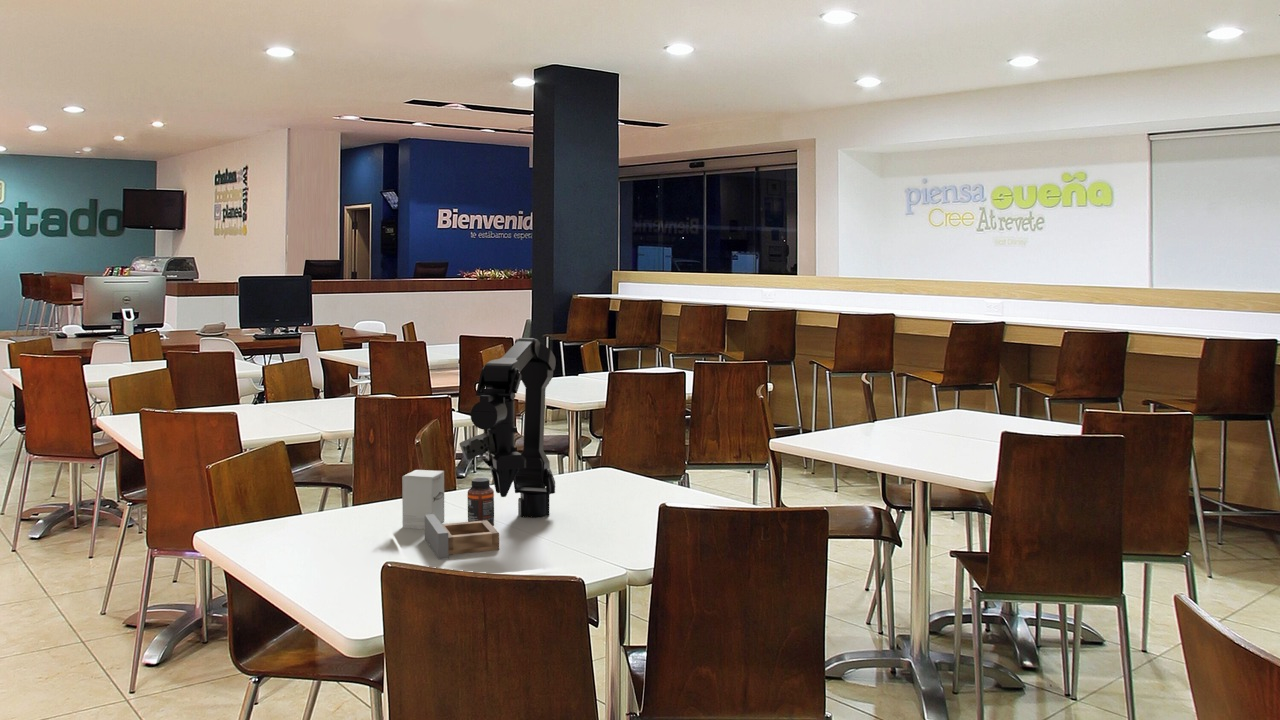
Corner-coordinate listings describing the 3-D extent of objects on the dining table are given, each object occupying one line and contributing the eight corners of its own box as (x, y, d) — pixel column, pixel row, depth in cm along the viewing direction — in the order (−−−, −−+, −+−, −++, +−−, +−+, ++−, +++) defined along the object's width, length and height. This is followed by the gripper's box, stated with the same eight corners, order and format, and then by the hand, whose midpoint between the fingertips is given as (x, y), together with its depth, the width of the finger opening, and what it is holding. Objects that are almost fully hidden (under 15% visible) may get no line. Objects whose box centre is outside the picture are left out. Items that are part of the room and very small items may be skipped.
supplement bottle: (499, 526, 229) (498, 477, 227) (486, 533, 223) (486, 483, 222) (475, 524, 230) (475, 475, 229) (462, 530, 225) (462, 480, 224)
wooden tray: (487, 535, 218) (487, 520, 217) (499, 549, 207) (499, 532, 207) (436, 540, 213) (436, 524, 213) (446, 554, 203) (445, 537, 203)
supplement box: (432, 533, 223) (432, 477, 221) (401, 530, 224) (400, 475, 223) (445, 524, 230) (445, 470, 229) (415, 522, 231) (414, 468, 230)
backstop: (521, 533, 223) (521, 506, 222) (541, 552, 208) (541, 524, 208) (424, 542, 215) (424, 514, 215) (438, 563, 200) (438, 533, 200)
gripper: (453, 417, 216) (454, 488, 218) (472, 431, 199) (472, 508, 201) (504, 414, 220) (504, 484, 222) (526, 428, 203) (526, 503, 205)
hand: (501, 494), depth 212 cm, fingers open, 4 cm apart
